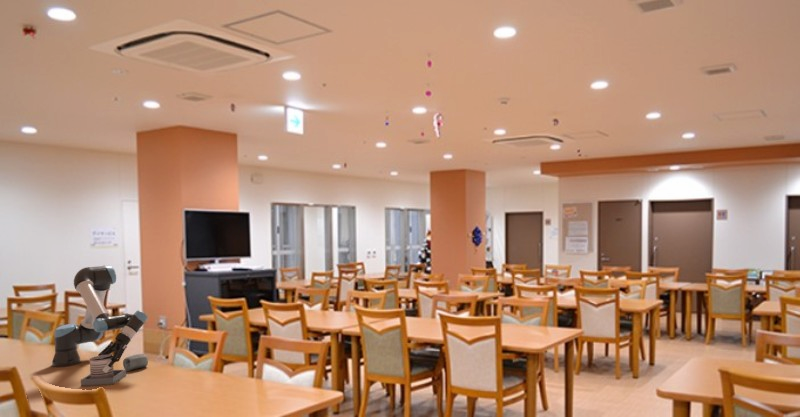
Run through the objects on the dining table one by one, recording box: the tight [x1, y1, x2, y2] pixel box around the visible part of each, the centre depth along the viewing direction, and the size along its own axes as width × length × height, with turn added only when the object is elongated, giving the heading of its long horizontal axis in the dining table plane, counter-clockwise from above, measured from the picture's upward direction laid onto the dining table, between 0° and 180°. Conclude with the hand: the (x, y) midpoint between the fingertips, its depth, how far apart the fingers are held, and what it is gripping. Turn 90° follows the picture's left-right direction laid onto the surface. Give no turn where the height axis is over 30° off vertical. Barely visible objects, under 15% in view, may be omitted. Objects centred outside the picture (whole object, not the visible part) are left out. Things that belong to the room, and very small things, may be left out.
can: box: [89, 353, 115, 379], centre depth 315 cm, size 11×11×12 cm
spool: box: [122, 353, 149, 372], centre depth 339 cm, size 14×10×10 cm
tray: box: [80, 369, 127, 387], centre depth 316 cm, size 17×17×4 cm
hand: (98, 370), depth 314 cm, fingers closed on can, 11 cm apart
